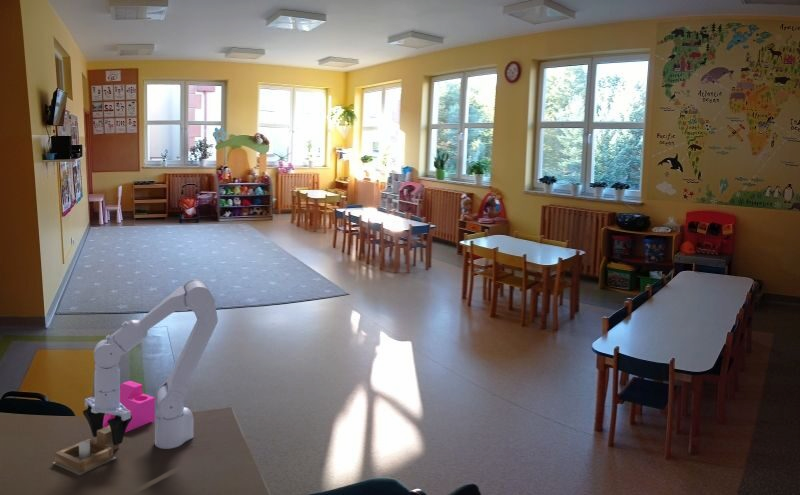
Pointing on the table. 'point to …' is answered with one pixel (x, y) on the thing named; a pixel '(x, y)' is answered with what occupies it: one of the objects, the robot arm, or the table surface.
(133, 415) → the bracket
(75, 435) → the table surface
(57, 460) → the walnut link
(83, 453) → the peg stand
